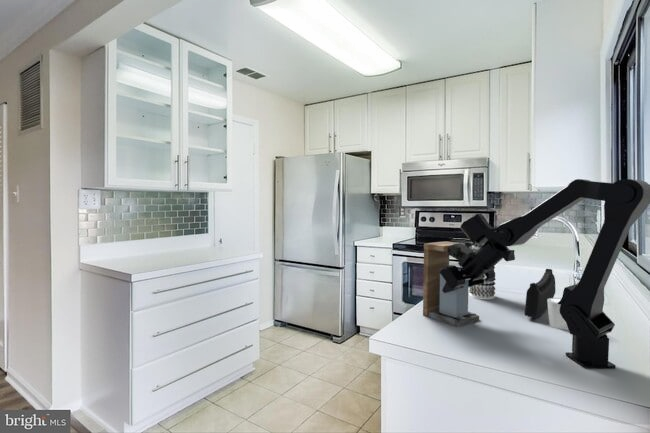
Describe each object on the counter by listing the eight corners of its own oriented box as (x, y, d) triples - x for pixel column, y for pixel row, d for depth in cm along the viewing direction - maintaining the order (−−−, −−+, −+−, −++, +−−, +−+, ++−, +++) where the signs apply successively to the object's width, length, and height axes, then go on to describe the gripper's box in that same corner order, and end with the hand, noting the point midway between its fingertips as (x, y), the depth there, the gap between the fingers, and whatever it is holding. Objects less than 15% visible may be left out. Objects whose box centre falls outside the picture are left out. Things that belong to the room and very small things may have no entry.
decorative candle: (496, 301, 124) (498, 228, 122) (467, 297, 128) (468, 226, 126) (496, 294, 132) (498, 226, 131) (469, 291, 136) (470, 225, 135)
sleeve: (467, 314, 105) (468, 271, 104) (455, 317, 102) (456, 273, 101) (451, 309, 110) (452, 268, 109) (439, 312, 106) (440, 270, 106)
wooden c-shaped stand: (479, 319, 104) (480, 245, 103) (457, 326, 99) (459, 248, 98) (444, 309, 114) (445, 241, 113) (422, 314, 109) (424, 243, 108)
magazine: (536, 292, 100) (555, 250, 122) (523, 290, 102) (543, 249, 124) (538, 345, 105) (555, 295, 126) (525, 342, 107) (545, 294, 128)
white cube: (562, 331, 95) (563, 305, 95) (540, 323, 102) (541, 298, 102) (582, 329, 97) (583, 303, 97) (559, 320, 104) (560, 296, 104)
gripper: (486, 233, 107) (453, 264, 116) (446, 236, 96) (413, 271, 106) (512, 263, 100) (475, 294, 110) (472, 271, 90) (435, 304, 99)
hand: (450, 290), depth 106 cm, fingers closed on sleeve, 6 cm apart
